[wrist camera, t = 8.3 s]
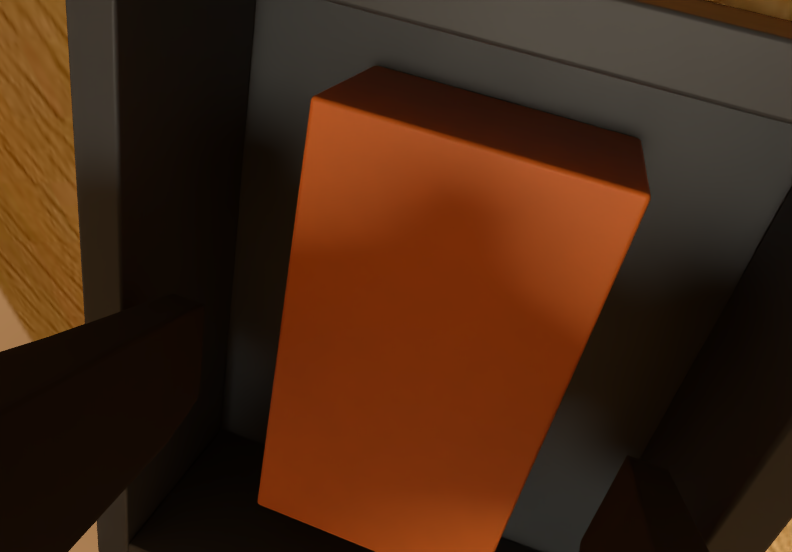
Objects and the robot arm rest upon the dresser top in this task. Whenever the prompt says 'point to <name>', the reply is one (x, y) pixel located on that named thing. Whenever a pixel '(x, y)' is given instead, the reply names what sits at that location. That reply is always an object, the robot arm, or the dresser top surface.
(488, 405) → the block
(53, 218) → the dresser top surface
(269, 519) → the storage bin
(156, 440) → the robot arm
